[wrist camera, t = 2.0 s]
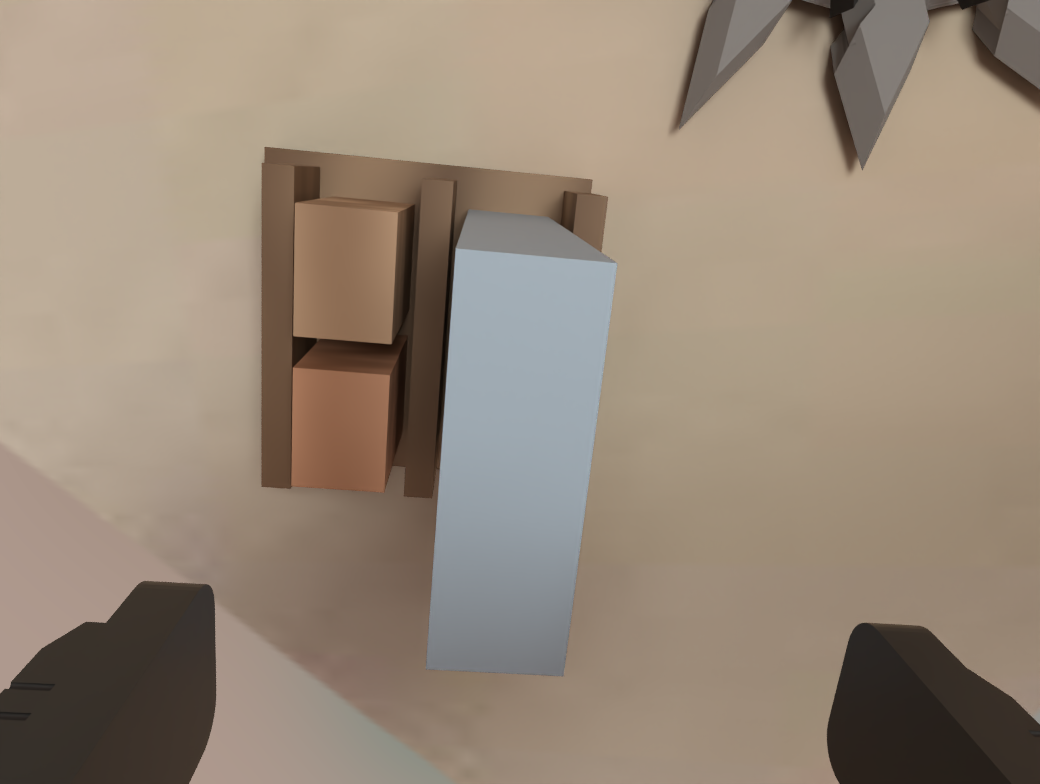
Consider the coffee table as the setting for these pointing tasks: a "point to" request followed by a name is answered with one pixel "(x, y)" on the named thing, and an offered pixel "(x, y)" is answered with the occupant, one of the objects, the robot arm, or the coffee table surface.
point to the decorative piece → (861, 49)
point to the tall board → (516, 442)
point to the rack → (435, 238)
